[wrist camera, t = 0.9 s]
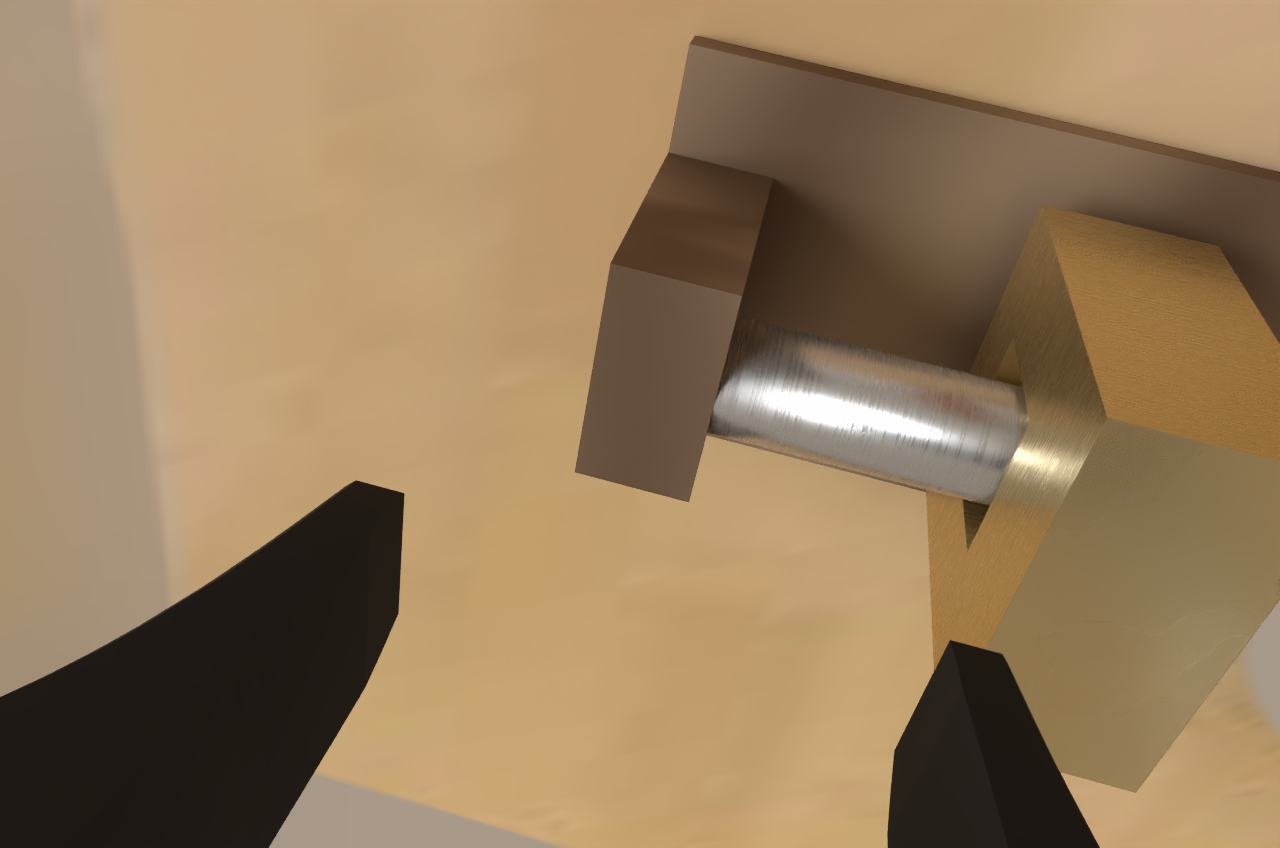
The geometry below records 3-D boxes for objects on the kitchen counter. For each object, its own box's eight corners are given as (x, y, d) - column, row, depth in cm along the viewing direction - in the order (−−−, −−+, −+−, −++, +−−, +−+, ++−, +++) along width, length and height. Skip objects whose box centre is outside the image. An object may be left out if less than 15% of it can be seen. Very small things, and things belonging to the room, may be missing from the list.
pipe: (1729, 532, 16) (1831, 630, 15) (1630, 628, 18) (1712, 729, 16) (629, 258, 18) (600, 318, 16) (610, 366, 19) (580, 433, 17)
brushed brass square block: (1218, 246, 17) (1367, 482, 12) (1072, 514, 21) (1136, 792, 15) (1041, 203, 18) (1107, 418, 12) (925, 476, 21) (937, 737, 16)
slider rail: (1730, 277, 18) (2017, 467, 13) (1440, 608, 22) (1578, 832, 18) (694, 35, 19) (632, 133, 14) (623, 397, 23) (559, 557, 19)
